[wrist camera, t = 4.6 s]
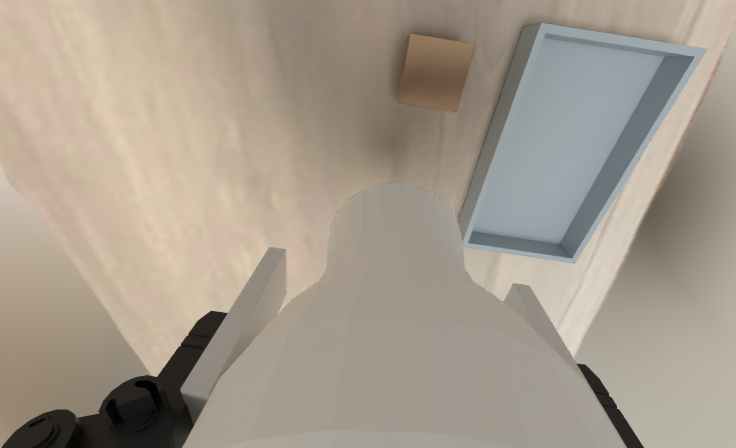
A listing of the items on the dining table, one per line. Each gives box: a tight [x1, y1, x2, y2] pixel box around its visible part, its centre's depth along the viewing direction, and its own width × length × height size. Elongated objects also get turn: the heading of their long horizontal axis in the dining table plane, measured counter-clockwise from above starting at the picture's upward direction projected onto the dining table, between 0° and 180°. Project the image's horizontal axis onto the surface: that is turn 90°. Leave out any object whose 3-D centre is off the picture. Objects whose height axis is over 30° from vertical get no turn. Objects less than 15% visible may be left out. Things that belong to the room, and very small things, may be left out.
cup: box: [182, 183, 625, 448], centre depth 11 cm, size 11×11×15 cm
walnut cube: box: [397, 34, 475, 112], centre depth 26 cm, size 5×5×5 cm
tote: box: [458, 23, 707, 263], centre depth 29 cm, size 21×13×4 cm, turn 172°
